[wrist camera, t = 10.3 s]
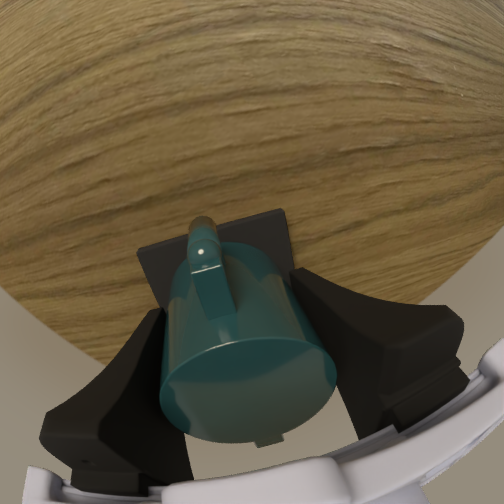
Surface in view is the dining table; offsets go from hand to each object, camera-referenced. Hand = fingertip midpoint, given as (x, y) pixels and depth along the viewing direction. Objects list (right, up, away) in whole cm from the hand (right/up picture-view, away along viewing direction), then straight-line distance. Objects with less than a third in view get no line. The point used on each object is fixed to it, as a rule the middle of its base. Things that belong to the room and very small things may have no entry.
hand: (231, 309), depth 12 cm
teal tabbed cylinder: (0, 0, +1) cm, 1 cm away
